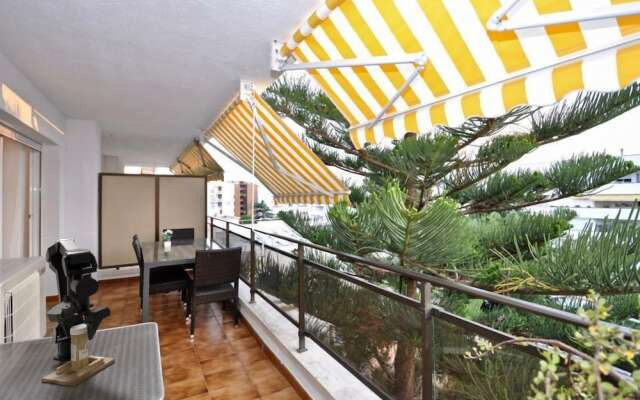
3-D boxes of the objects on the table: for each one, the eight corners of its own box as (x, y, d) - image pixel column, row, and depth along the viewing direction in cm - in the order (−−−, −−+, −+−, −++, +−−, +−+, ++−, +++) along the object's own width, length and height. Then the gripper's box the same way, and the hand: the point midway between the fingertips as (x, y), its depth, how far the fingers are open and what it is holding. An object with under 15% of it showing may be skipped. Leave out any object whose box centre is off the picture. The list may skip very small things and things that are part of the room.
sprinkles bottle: (88, 368, 99) (87, 327, 99) (70, 373, 96) (69, 330, 96) (89, 362, 103) (88, 322, 102) (71, 366, 100) (71, 325, 100)
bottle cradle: (41, 381, 94) (41, 373, 94) (85, 357, 108) (85, 350, 108) (73, 386, 91) (73, 378, 91) (114, 361, 105) (114, 354, 105)
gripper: (27, 296, 93) (28, 347, 93) (77, 301, 89) (78, 354, 89) (65, 285, 104) (66, 331, 104) (111, 289, 100) (112, 337, 100)
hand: (79, 338), depth 99 cm, fingers open, 8 cm apart
